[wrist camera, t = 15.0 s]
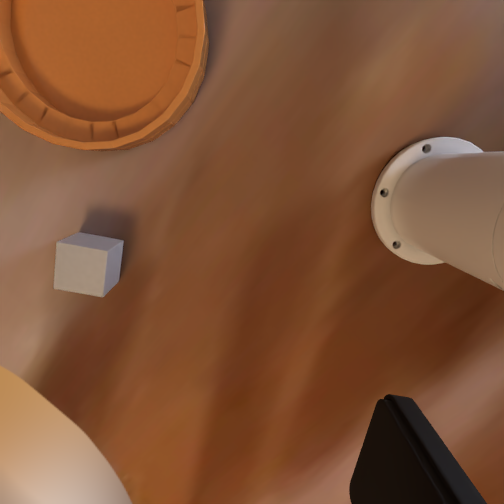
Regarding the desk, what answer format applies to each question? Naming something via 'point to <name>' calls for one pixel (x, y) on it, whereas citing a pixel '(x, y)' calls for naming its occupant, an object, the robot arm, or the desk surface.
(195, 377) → the desk surface
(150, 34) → the bowl
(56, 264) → the block
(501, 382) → the desk surface
